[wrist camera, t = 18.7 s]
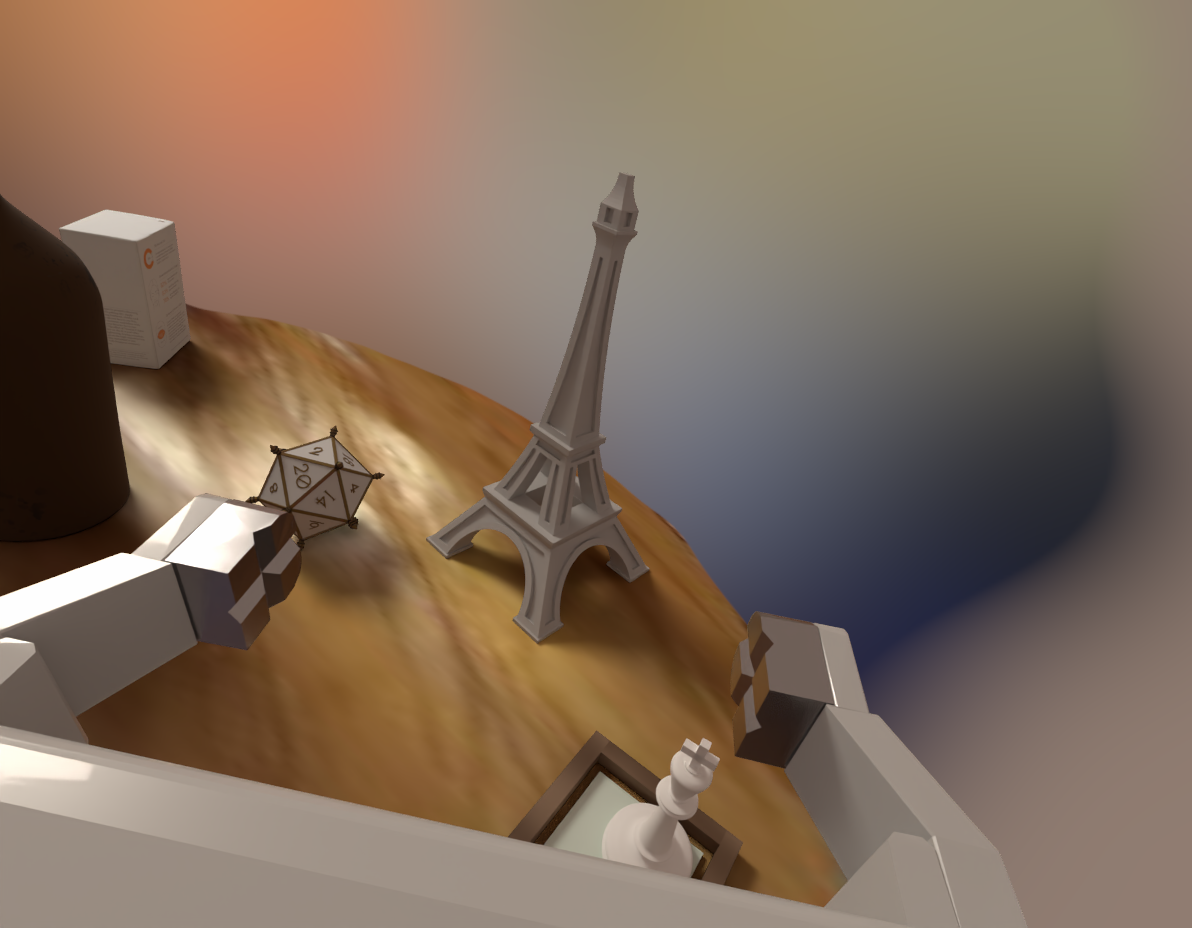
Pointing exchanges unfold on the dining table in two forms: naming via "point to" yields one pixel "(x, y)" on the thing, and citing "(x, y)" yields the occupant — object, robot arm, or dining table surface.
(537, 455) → the eiffel tower
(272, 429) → the dining table surface
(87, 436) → the olive oil
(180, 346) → the small box
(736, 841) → the tray
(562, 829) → the pad
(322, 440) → the game die
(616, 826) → the chess piece
